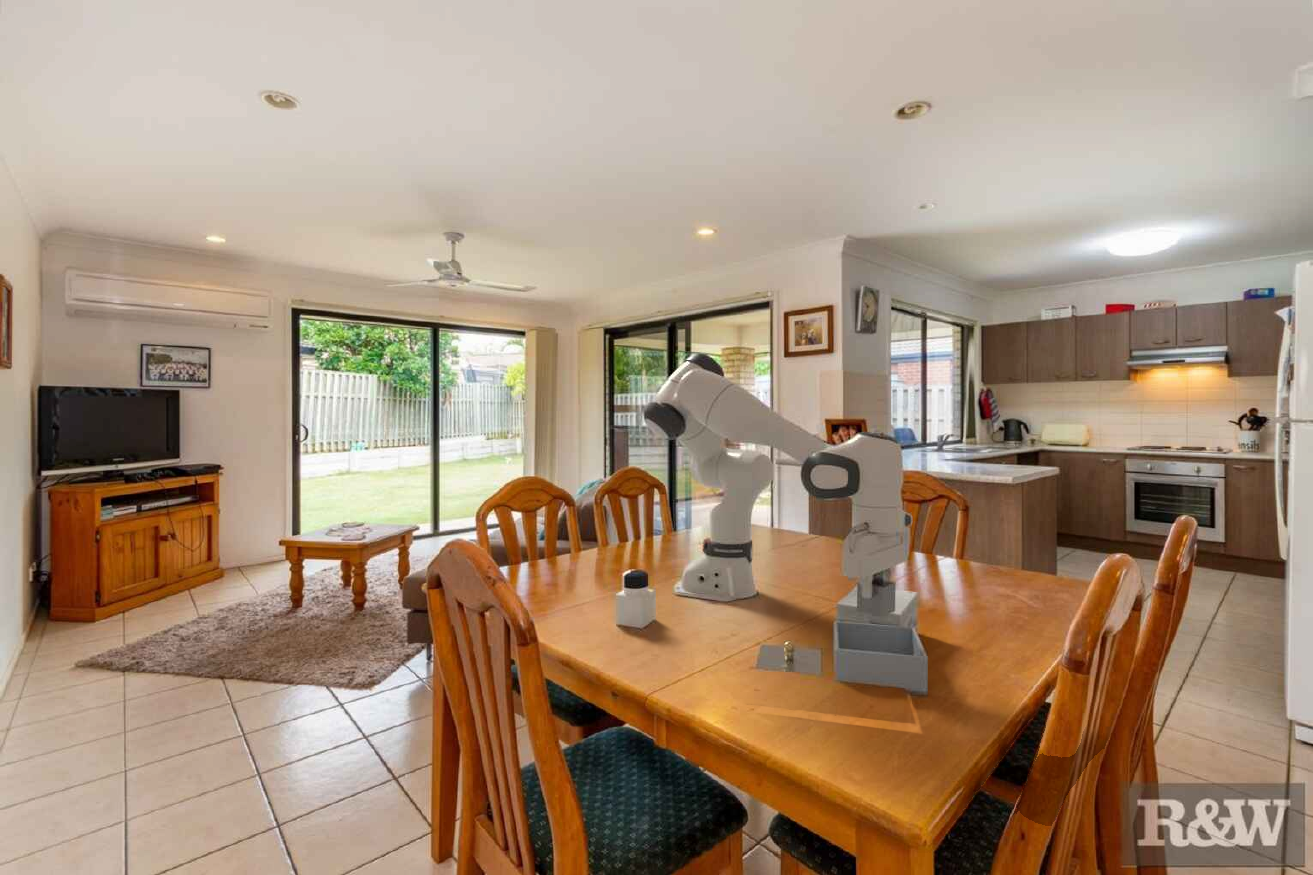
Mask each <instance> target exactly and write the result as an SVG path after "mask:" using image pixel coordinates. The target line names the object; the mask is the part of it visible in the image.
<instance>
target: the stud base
mask: <svg viewBox="0 0 1313 875" xmlns="http://www.w3.org/2000/svg"><path fill="white" fill-rule="evenodd" d="M755 663H756V664H755V668H754V669H758V670H765V671H767V670H768V671H776V672H787V673H796V674H806V675H814V676H822V649H817V648H816V649H814V648H804V647H803V648H802V647H796V645H795V643H794V642H793V641H791V640H787V641H786V642H784V644H783V645H772V644H764V643H763V644H760V648H759V651H758V656H757V659H756V662H755Z"/></svg>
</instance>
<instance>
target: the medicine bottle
mask: <svg viewBox="0 0 1313 875" xmlns="http://www.w3.org/2000/svg"><path fill="white" fill-rule="evenodd" d="M614 597H615V600H614V601H615V604H614V605H615V607H614V609H615V612H614V613H615V614H614V615H615V625H618V626H624V627H629V628H635V629H644V628H646V627H647V626H648V625H649V624H650V623H652V622H653V621H655V620H656V590H655V589H650V588H649V573H648V572H647V571H645V570H642V569H629V570H626V571H625V572H623V573H622V590H621V591H619V592H617V593H616V594H615V595H614Z"/></svg>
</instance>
